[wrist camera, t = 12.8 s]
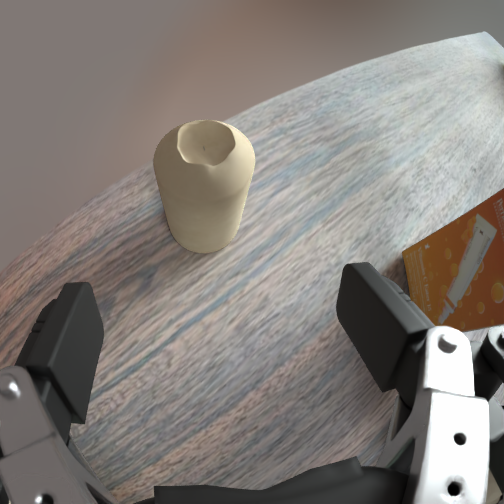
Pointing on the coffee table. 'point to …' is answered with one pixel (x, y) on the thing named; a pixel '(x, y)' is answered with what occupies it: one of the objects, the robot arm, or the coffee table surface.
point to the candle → (204, 182)
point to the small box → (461, 269)
